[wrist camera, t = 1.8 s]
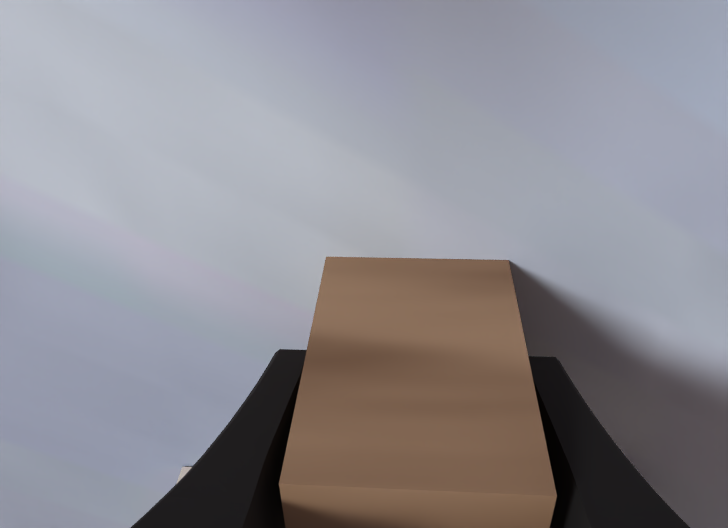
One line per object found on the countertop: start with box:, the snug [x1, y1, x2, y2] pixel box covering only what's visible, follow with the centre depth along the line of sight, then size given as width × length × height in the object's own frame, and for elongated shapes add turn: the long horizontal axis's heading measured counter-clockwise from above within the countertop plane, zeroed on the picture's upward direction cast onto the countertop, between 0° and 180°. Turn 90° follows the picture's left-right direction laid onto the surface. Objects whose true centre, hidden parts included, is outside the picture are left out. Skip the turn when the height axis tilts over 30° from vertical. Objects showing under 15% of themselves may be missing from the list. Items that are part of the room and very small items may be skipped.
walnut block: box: [279, 257, 557, 528], centre depth 13 cm, size 4×4×6 cm
